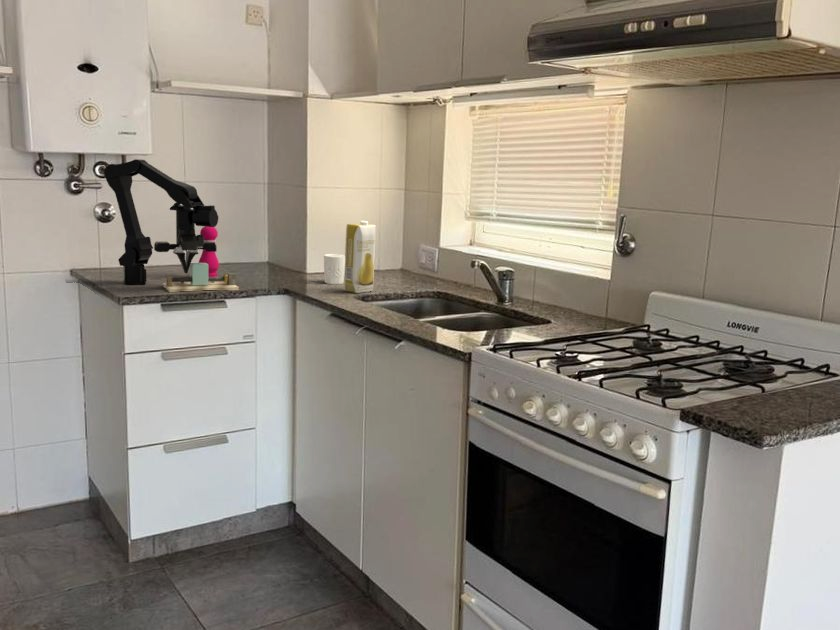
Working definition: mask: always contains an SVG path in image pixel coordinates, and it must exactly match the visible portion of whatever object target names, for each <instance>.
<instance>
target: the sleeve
mask: <svg viewBox="0 0 840 630" xmlns="http://www.w3.org/2000/svg"><path fill="white" fill-rule="evenodd" d="M189 270H190V272H189V273H190V274H189V275H190V276H189V277H192V281H191V282H190V284H192V285H208V282H209V281H208V264H207V263H199V262H191V264H190V267H189Z"/></svg>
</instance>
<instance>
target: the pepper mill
mask: <svg viewBox="0 0 840 630" xmlns="http://www.w3.org/2000/svg"><path fill="white" fill-rule="evenodd" d="M199 235H203V236H204V241H212V242H214V243H215V244H216V245H217V240H216V239H217V238H218V237H219V236H218V235H219V234H218V229H217V228H216V227H205V226H202V227H201V229H200V231H199ZM216 253H217V252H207V251H206V250H203V249H202V252H201V255H200V257H199V260H198V263H207V264H208V277H219V275H218V274H219V273H218V270H219V269H220V262H219V259H218V257H217V254H216Z"/></svg>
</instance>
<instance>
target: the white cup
mask: <svg viewBox="0 0 840 630" xmlns="http://www.w3.org/2000/svg"><path fill="white" fill-rule="evenodd" d="M323 274H324V283H325V284H327V285H343V284H344V278H345V254H340V253H339V254H338V253H327V254H323Z"/></svg>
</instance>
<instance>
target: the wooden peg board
mask: <svg viewBox="0 0 840 630" xmlns="http://www.w3.org/2000/svg"><path fill="white" fill-rule="evenodd" d="M165 279H166V282H163V283H162V287H164V289H165V288H166V289H165V290H166V291H167V292H169V293H181V292H180V291H196V292H202V291H201V290H228V291H239V289H240V287H239V286H238V285H236V273H234V272H227V273H226V274H223V275H222V276H218V277H208V285H192V284H190V282H191V281H192V277H190V276H186V277H184V276H183V277H181V276H180V277H173V276H171V275H169V274H167V275H166V278H165Z"/></svg>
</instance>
